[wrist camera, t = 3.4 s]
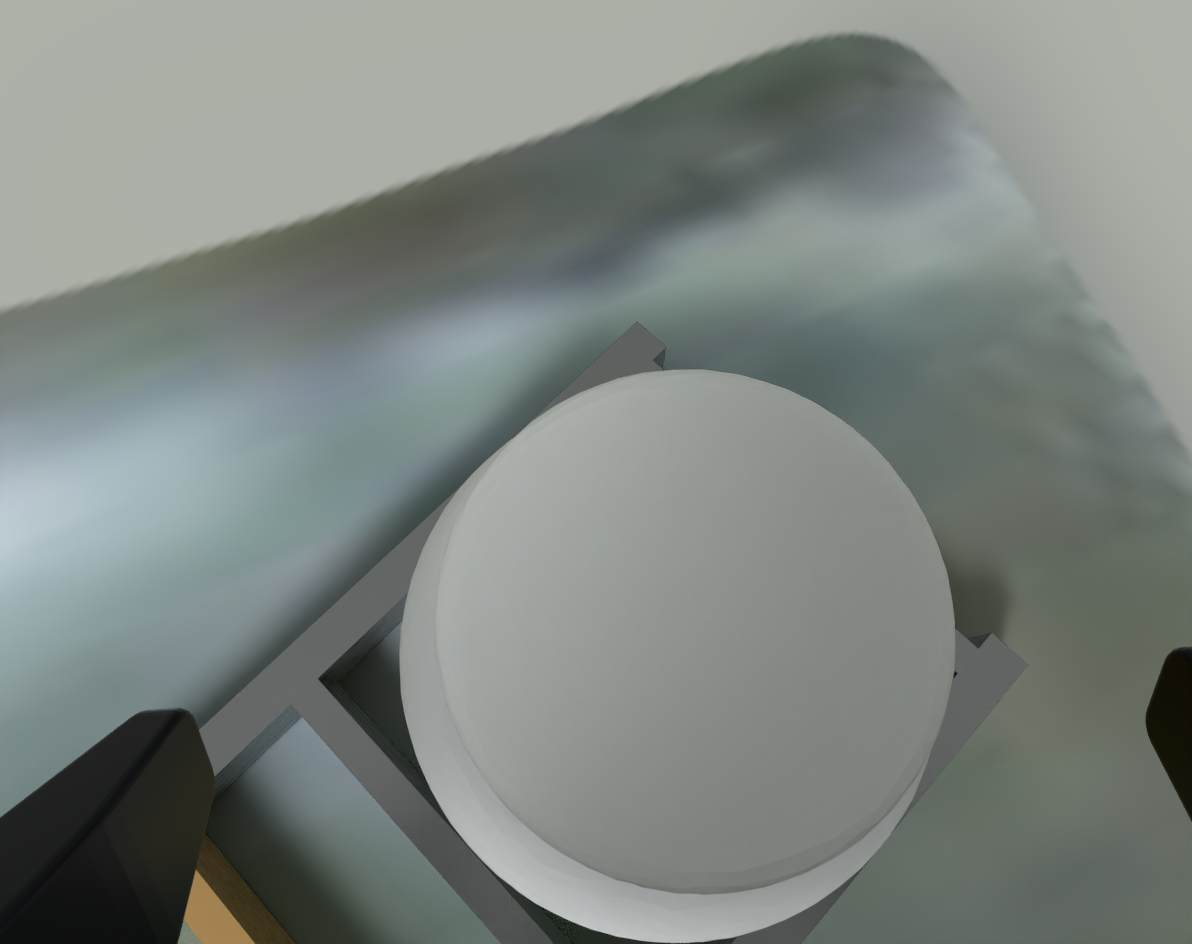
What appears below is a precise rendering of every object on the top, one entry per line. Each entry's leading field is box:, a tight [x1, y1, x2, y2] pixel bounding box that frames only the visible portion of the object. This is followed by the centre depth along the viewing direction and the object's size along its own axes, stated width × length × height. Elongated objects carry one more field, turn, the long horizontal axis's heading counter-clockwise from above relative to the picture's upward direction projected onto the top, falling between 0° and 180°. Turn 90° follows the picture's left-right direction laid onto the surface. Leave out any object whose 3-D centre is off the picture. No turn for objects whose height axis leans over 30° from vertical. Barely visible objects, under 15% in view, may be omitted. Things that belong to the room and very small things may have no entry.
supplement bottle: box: [399, 369, 956, 943], centre depth 11 cm, size 6×6×10 cm
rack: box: [184, 322, 1028, 944], centre depth 14 cm, size 22×10×1 cm, turn 136°
